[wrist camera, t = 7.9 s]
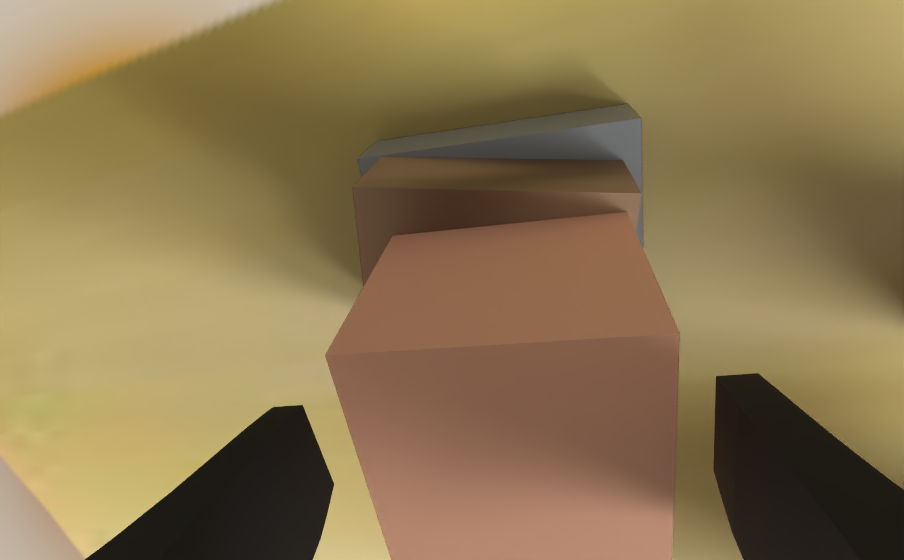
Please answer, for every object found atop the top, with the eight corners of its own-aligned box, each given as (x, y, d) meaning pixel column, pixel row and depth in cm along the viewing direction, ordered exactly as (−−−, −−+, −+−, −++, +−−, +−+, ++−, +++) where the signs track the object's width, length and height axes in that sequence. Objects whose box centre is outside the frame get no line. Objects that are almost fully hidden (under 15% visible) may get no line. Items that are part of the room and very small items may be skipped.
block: (627, 212, 11) (679, 333, 7) (630, 402, 13) (672, 574, 9) (392, 235, 12) (325, 355, 8) (432, 409, 14) (394, 569, 10)
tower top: (623, 160, 13) (641, 193, 11) (597, 362, 16) (607, 421, 14) (381, 156, 14) (352, 187, 12) (396, 350, 17) (376, 404, 14)
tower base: (625, 100, 15) (641, 118, 13) (631, 318, 18) (645, 363, 16) (381, 136, 16) (357, 158, 14) (425, 333, 19) (411, 377, 17)
